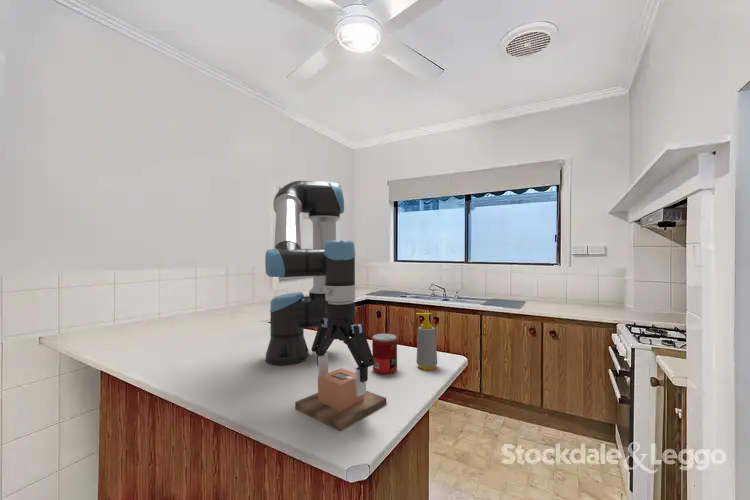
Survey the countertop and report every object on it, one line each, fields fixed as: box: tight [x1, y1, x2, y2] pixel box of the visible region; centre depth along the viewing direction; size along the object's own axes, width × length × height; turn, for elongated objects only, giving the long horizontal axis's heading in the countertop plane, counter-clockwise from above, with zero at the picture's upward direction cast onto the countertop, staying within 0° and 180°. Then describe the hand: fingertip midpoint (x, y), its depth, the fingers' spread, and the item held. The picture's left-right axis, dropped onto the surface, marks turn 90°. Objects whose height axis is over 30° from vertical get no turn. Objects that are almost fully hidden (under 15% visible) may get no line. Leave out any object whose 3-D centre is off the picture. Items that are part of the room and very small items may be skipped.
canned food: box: [371, 333, 398, 375], centre depth 106 cm, size 8×8×11 cm
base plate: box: [294, 373, 387, 431], centre depth 82 cm, size 16×16×8 cm
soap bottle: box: [415, 312, 438, 371], centre depth 108 cm, size 7×7×18 cm
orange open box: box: [317, 367, 364, 411], centre depth 81 cm, size 8×8×6 cm
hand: (341, 387), depth 82 cm, fingers open, 13 cm apart
